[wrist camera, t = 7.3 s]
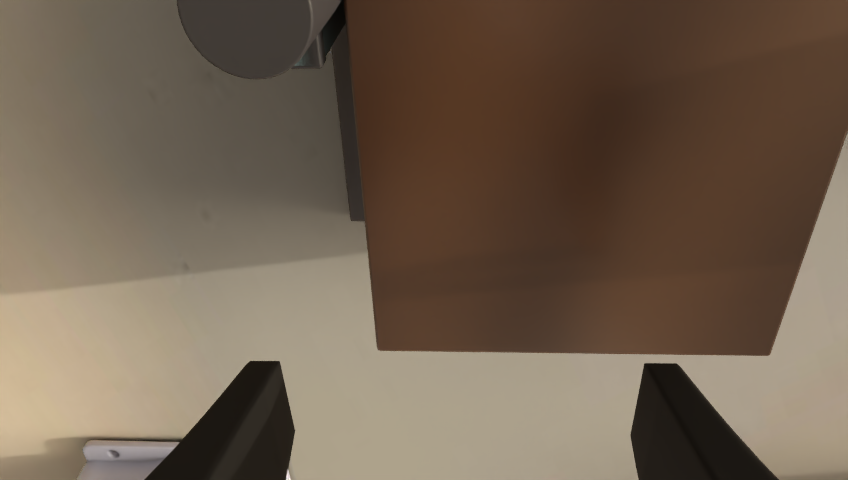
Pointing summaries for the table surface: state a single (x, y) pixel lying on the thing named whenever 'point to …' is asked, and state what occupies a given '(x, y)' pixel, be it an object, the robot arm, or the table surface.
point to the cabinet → (588, 168)
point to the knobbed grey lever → (262, 33)
